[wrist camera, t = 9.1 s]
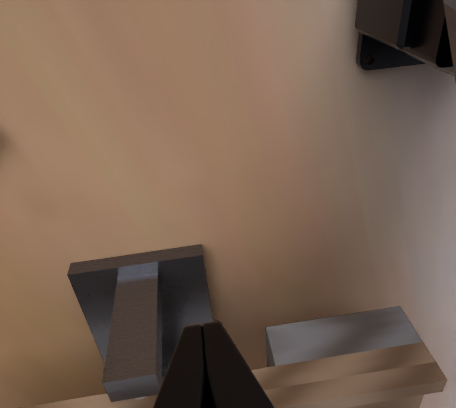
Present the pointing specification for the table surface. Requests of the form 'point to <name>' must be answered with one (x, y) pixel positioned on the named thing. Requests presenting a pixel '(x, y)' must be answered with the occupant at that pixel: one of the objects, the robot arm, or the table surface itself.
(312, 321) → the beam
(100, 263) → the beam stand
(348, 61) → the table surface
